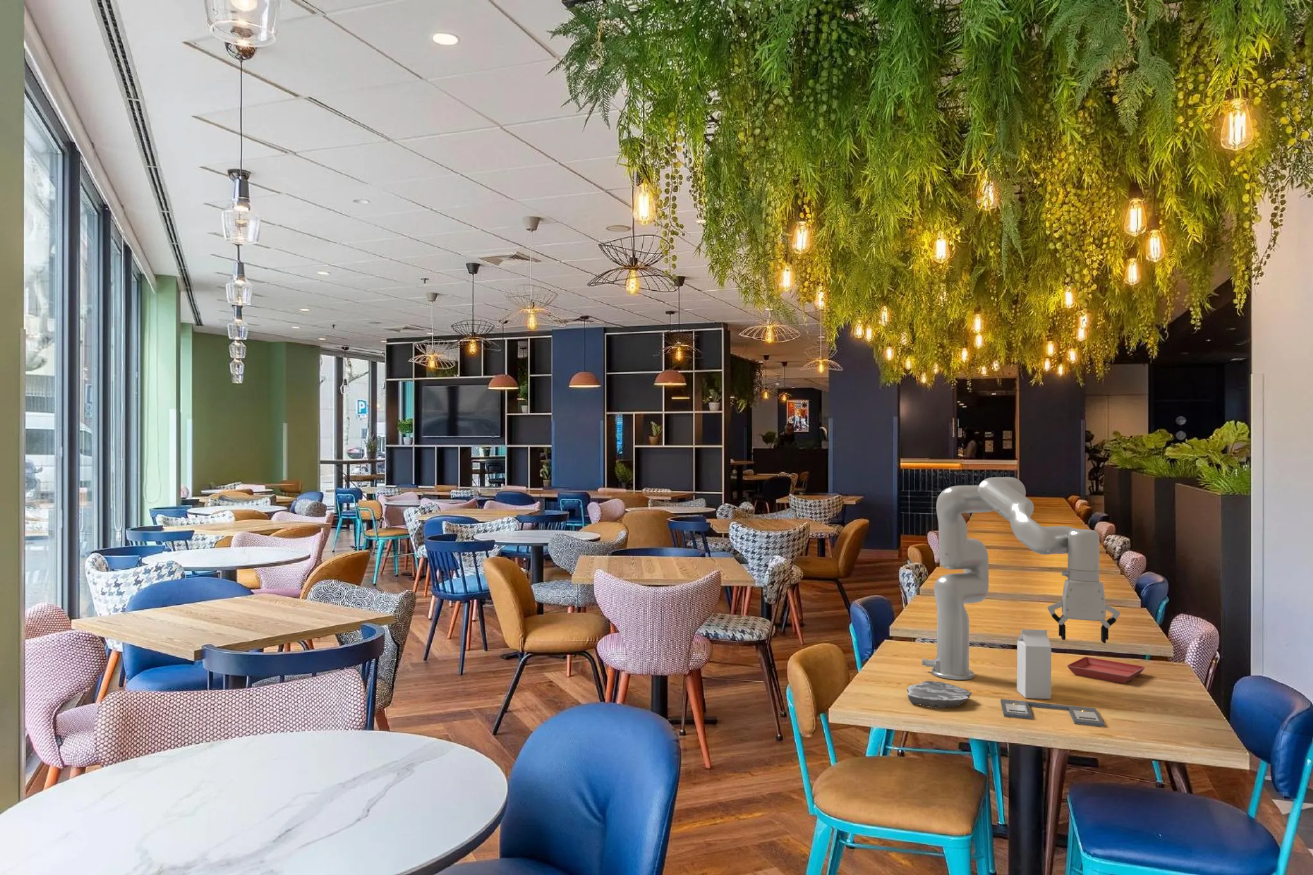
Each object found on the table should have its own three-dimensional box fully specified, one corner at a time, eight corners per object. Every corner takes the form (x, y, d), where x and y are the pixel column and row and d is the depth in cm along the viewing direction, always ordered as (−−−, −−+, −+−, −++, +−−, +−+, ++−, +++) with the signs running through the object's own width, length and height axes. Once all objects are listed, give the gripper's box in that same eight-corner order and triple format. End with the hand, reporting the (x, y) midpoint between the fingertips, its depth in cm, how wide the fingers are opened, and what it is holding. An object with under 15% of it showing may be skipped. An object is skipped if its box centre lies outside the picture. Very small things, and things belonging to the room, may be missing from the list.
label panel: (1003, 716, 226) (1004, 712, 226) (1000, 701, 240) (1000, 698, 240) (1104, 726, 219) (1104, 723, 219) (1095, 710, 232) (1095, 707, 232)
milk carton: (1051, 699, 242) (1051, 632, 242) (1025, 698, 243) (1025, 631, 243) (1041, 692, 249) (1042, 627, 249) (1016, 691, 250) (1017, 626, 250)
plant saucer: (1085, 665, 282) (1085, 655, 282) (1145, 676, 270) (1145, 665, 270) (1065, 675, 269) (1065, 665, 269) (1128, 687, 257) (1128, 676, 257)
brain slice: (962, 716, 227) (963, 704, 227) (899, 705, 236) (899, 694, 236) (977, 697, 244) (977, 687, 244) (917, 688, 253) (917, 678, 253)
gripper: (1049, 576, 225) (1049, 640, 225) (1122, 580, 220) (1122, 646, 219) (1046, 572, 232) (1046, 635, 232) (1117, 576, 227) (1117, 640, 227)
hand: (1083, 640), depth 226 cm, fingers open, 9 cm apart
